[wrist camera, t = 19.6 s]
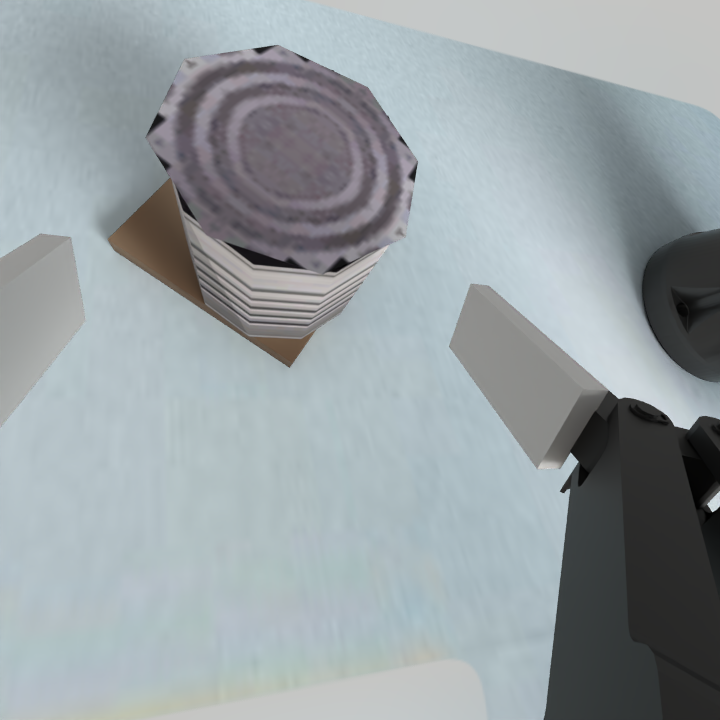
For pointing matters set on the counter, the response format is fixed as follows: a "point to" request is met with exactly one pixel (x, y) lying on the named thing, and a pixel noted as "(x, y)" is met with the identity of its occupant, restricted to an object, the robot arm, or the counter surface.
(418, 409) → the counter surface
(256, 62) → the can
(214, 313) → the walnut board
